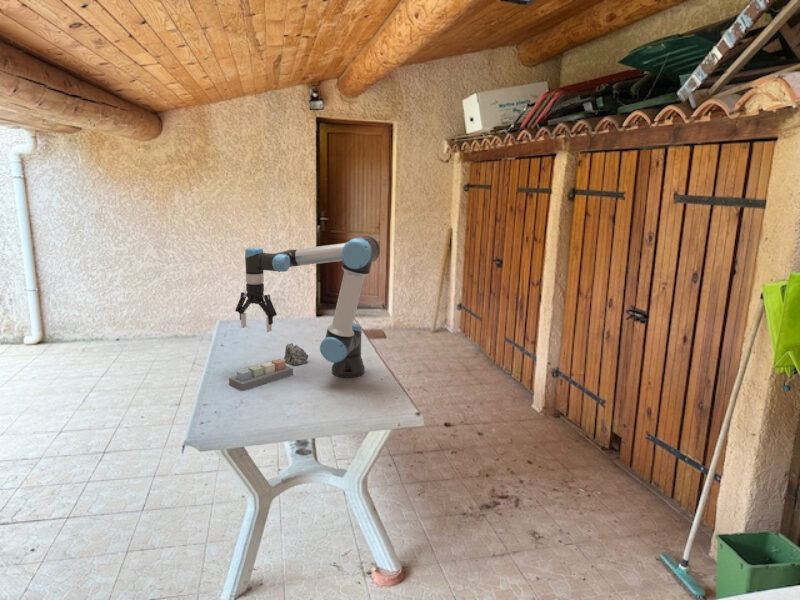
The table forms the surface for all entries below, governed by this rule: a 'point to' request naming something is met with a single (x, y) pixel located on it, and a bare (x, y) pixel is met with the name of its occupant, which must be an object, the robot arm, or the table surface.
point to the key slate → (243, 375)
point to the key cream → (268, 367)
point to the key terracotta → (279, 364)
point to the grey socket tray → (260, 379)
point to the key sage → (256, 371)
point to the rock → (295, 355)
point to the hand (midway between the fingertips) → (256, 329)
